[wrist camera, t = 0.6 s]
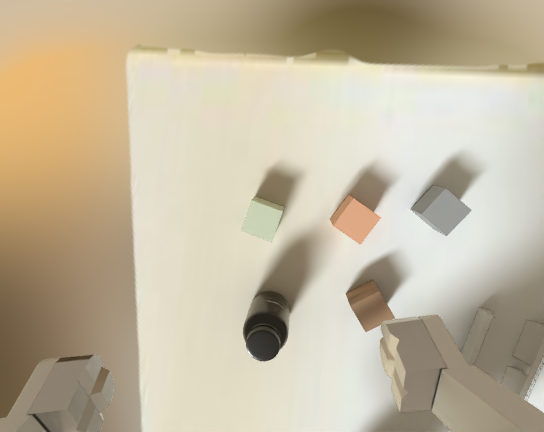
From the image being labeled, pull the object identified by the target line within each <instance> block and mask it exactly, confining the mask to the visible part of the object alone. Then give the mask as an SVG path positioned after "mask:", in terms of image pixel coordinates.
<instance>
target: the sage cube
mask: <svg viewBox="0 0 544 432" xmlns="http://www.w3.org/2000/svg"><path fill="white" fill-rule="evenodd" d="M283 209H284V207H283V206H280V205H278V204H275V203H272V202H269V201H267V200H264V199H261V198H258V197H254V198H253V199H252V200H251V203H250V206H249V209H248V212H247V215H246V217H245V220H244V223H243V226H242V229H241V231H242V232H245V233H248V234H251V235H253V236H256V237H259V238H262V239H265V240H267V241H270V242H272V240H273V238H274V235H275V232H276V229H277V227H278V224H279V221H280V218H281V216H282V213H283Z"/></svg>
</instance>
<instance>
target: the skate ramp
mask: <svg viewBox="0 0 544 432" xmlns="http://www.w3.org/2000/svg"><path fill="white" fill-rule="evenodd" d="M493 313H494V311H492V310H488V309H484V308H481V307H479V309H478V311H477V314H476V316H475V319H474V321H473V324H472V326H471V329H470V332H469V334H468V337H467V339H466V342H465V344H464V347H463V349H462V352H461V353H462V355H463V357H464V359H465V360H466V362H467V364H468V365H469V366H474V363H475V361H476V358H477V356H478V353H479V351H480V348H481V346H482V344H483V341H484V339H485V336H486V334H487V331H488V329H489V326H490V324H491V321H492V319H493V318H495V317H493ZM543 355H544V325H543V324H541V323H537V322H533V321H529V320H527V321H526V323H525V326H524V328H523V330H522V333H521V335H520V338H519V340H518V343H517V345H516V347H515V350H514V352H513V355H512V356H514V357H516V358H518V359H520V360H521V361H523V362H525V363H526V364H528V365H529V366H530V367H531V368H530V370H529V373H528V375H527V374H526V373H525V372H524V371H523V370H520V369H517V368H513V367H509V366H508V367H507V369H506V372H505V374H504V376H503V379H502V381H501V384H502V385H504V386H505V387H507V388H508V389H509V390H511V391H512V392H514V393H515V394H517V395H518V396H520V397H521V398H523V399H524V398H525V396H527V397H528V398H529V396H530V395H529V396H528V395H527V391H528V390H529V387H530V385H531V382H532V380H533V378H534V376H535V373H536V371H537V369H538V367H539V364H540V362H541V360H542V358H543ZM543 360H544V359H543ZM542 364H543V365H544V363H543V361H542ZM540 367H541V366H540ZM542 367H543V366H542ZM540 369H542V368H540ZM538 371H539V370H538ZM539 374H540V373H539ZM536 376H537V375H536ZM535 378H536V377H535ZM537 378H538V377H537ZM535 383H536V382H535ZM532 385H533V384H532ZM534 385H535V384H534ZM531 387H532V386H531ZM533 387H534V386H533ZM530 389H531V388H530ZM529 391H530V390H529ZM530 392H531V391H530ZM528 394H529V393H528ZM530 394H531V393H530ZM527 397H526V398H527Z"/></svg>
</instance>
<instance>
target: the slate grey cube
mask: <svg viewBox="0 0 544 432" xmlns="http://www.w3.org/2000/svg"><path fill="white" fill-rule="evenodd" d="M411 210H412V211H413V212H414V213H415V214H416V215H418V216H419V217H420V218H421V219H422V220H423V221H425V222H426V223H427V224H428V225H429V226H430V227H432V228H433V229H434V230H436V231H438V232H440V233H442V234H444V235H445V236H447V235H448V234H449V233H450V232H451V231H452V230H453V229H454V228H455V227H456V226H457V225H458V224H459V223H460V222H461V221H462V220H463V219H464V218H465V217H466V216H467V215H468V214H469V212H470V211H471V209H469V208H468V207H467V206H466V205H465V204H464V203H463V202H461V201H460V200H459V199H458V198H457V197H456V196H454V195H453V194H452V193H451V192H450V191H449V190H448V189H446V188H443V187H438V186H434V185H432V186H431V188H430V189H429V190H428V191H427V192H426V193H425V194H424V195H423V196H422V197H421V198H420V199H419V200H418V202H417V203H416V204H415V205H414V206H413V207H412V208H411Z"/></svg>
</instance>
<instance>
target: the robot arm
mask: <svg viewBox="0 0 544 432" xmlns="http://www.w3.org/2000/svg"><path fill="white" fill-rule="evenodd" d="M381 331H382V334H383V338H382V339H381V340H380V354H381V360H382V363H383V367H384V370H385V373H386V374H387V375H388V376H389V377H390V378H392V386H391V390H392V393H393V395H394V398H395V401H396V404H397V406H398V409H399V412H400V413H402V412H414V411H427V410H432V413H433V414H434V415H435V416H436V417H437V418H438V419H439V420H440V421H441V422H442V423H443V424H444V425H445V426H446V427H447V428H448V429H449V430H450V431H451V432H544V413H543V412H542V411H540V410H539V409H537V408H536V407H534V406H533V405H531V404H530V403H528V402H527V401H525V400H524V399H523V398H521V397H520V396H518V395H517V394H515V393H514V392H512V391H511V390H509V389H508V388H507V387H505V386H504V385H502V384H501V383H499V382H498V381H496V380H495V379H493V378H492V377H491V376H489V375H488V374H486V373H485V372H483V371H482V370H480V369H479V368H477V367H476V366H469V365H468V364H467V362H466V360H465V359H464V357H463V355H462V353H461V352H460V350H459V348H458V347H457V345H456V343H455V342H454V340H453V338H452V337H451V335H450V333H449V332H448V330H447V328H446V326H445V325H444V323H443V321H442V320H441V318H440V317H439V316H438V315H429V316H421V317H409V318H402V319H394V320H386V321H383V322H382V324H381ZM102 364H103V360H102V358H101V357H100V355H99V354H97V355H85V356H75V357H62V358H53V359H44V360H42V361H41V362H40V363H39V364H38V365H37V366H36V368H35V370H34V372H33V373H32V375H31V377H30V378H29V380H28V382H27V384H26V385H25V387H24V389H23V390H22V392H21V394H20V395H19V397H18V399H17V401H16V402H15V404H14V406H13V408H12V409H11V411H10V413H9V414H8V416H7V417H6V418H1V419H0V432H100V431H101V428H102V425H103V422H104V419H103V416H102V412H103V411H104V410H105V409H106V408H107V407H108V406H109V405H110V402H111V399H112V395H113V388H114V382H113V377H112V375H111V373H110V371H109V370H107V369H105V368H103V367H102Z"/></svg>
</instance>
